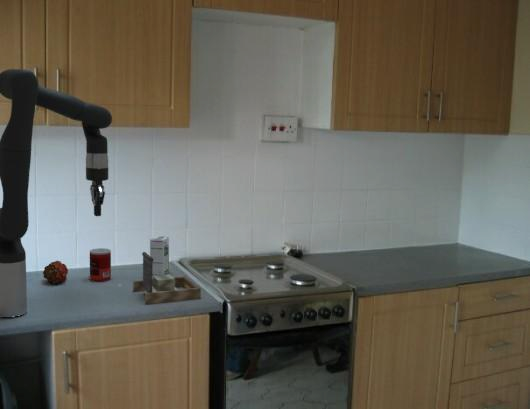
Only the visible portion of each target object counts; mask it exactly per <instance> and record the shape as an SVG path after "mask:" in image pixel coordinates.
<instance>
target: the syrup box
mask: <svg viewBox="0 0 530 409" xmlns="http://www.w3.org/2000/svg"><path fill="white" fill-rule="evenodd" d="M169 241H170V238H169V236H164V235H163V236H162V235H159V236H158V235H156V236H154V237H152V238H150V239H149V256H151V257H152V258H153V259H154V260H153V264H152V276H159V275H168V273H169V272H170V253H169V252H170V250H169V249H170V247H169V246H170V245H169V243H170V242H169Z"/></svg>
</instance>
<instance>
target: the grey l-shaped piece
mask: <svg viewBox="0 0 530 409" xmlns="http://www.w3.org/2000/svg"><path fill="white" fill-rule="evenodd" d="M141 255H142V280H143V288H144V291H143V292H145V293H151V292H161V291H170V290H179V289H178V287H177V288H176V287H175V278H173V276H172V275H171V274H165V275H152V264H153V260H154V259H153V258H152V257H151V256H150V254H149V253H147V252H146V251H143V252H142V254H141ZM152 279H153V286H152Z"/></svg>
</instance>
